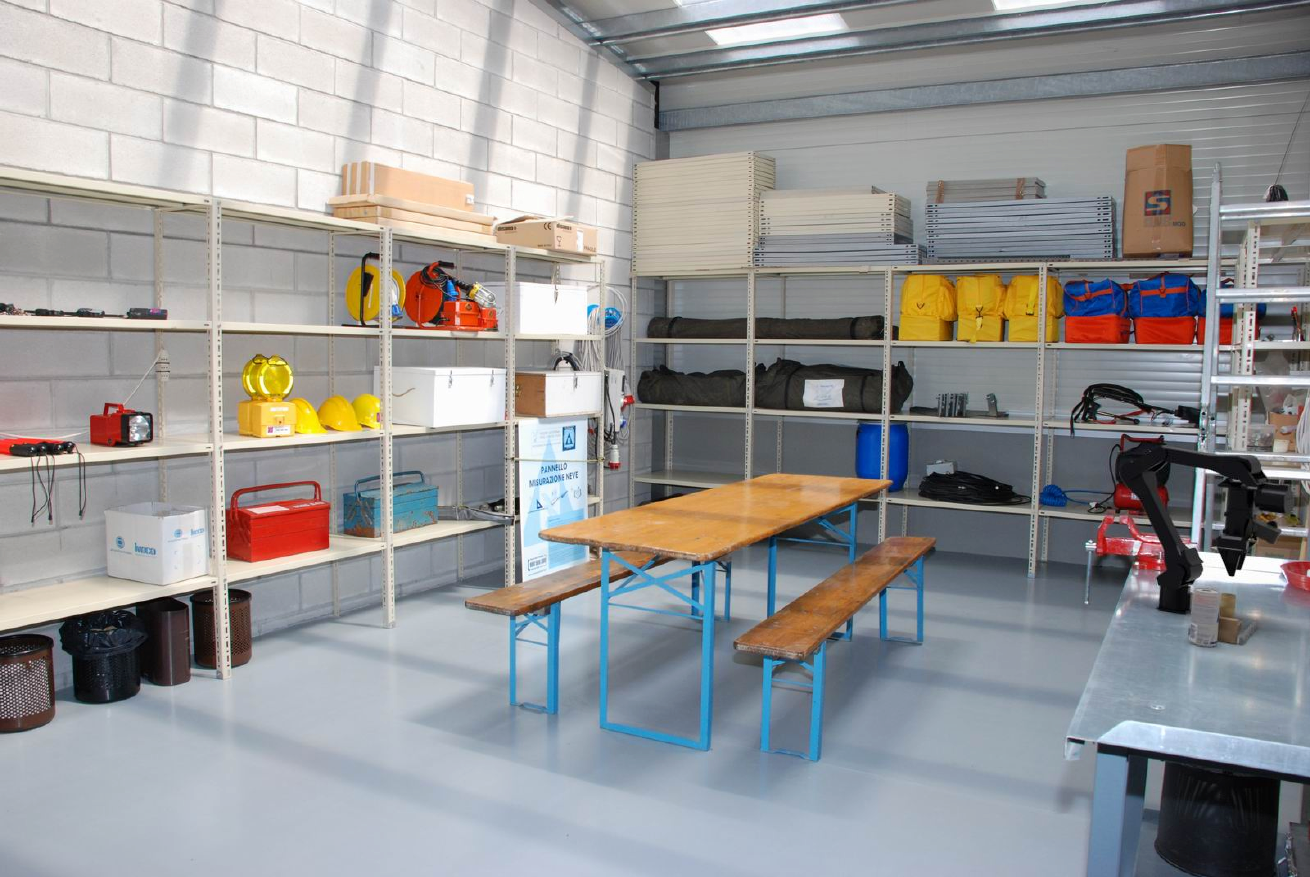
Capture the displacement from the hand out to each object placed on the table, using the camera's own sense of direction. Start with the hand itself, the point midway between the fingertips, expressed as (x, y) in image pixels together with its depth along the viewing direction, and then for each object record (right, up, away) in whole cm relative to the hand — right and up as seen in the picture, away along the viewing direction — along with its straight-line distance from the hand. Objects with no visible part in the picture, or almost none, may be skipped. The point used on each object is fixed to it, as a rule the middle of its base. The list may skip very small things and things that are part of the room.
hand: (1235, 573), depth 231 cm
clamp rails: (-6, -13, -6) cm, 15 cm away
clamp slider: (-8, -12, -8) cm, 17 cm away
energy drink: (-17, -14, -16) cm, 27 cm away
